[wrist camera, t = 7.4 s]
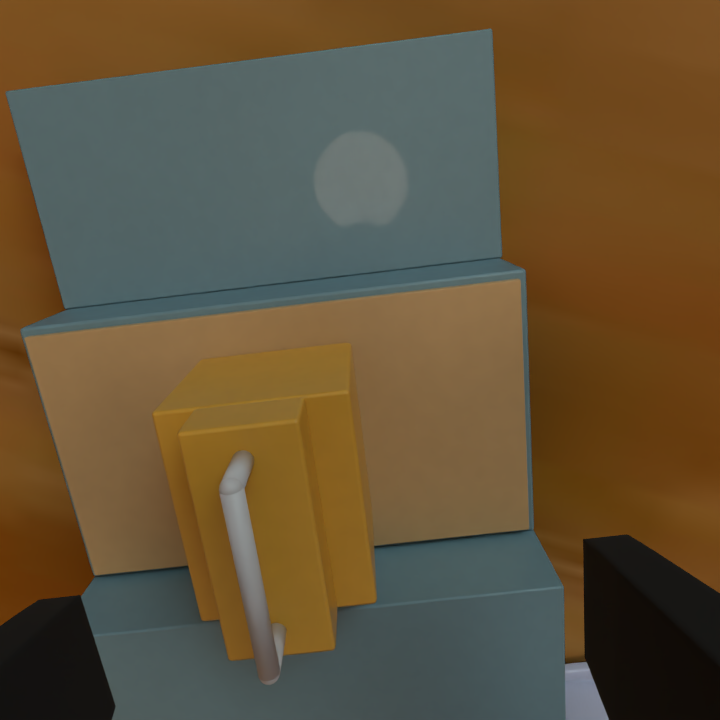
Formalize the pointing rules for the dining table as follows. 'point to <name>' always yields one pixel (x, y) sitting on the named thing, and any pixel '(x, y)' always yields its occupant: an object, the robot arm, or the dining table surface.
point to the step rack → (290, 331)
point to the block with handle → (271, 497)
